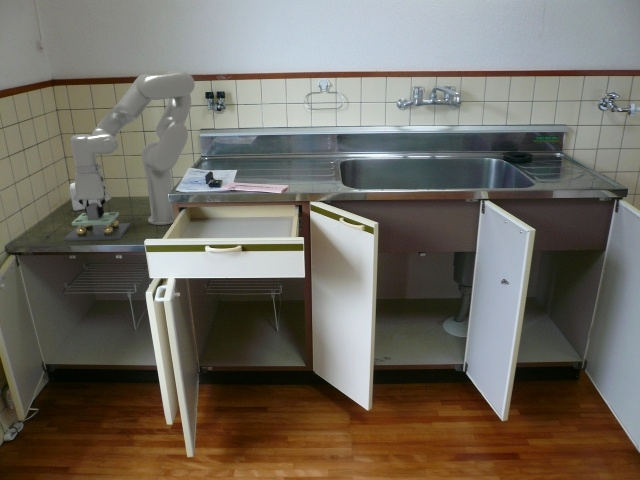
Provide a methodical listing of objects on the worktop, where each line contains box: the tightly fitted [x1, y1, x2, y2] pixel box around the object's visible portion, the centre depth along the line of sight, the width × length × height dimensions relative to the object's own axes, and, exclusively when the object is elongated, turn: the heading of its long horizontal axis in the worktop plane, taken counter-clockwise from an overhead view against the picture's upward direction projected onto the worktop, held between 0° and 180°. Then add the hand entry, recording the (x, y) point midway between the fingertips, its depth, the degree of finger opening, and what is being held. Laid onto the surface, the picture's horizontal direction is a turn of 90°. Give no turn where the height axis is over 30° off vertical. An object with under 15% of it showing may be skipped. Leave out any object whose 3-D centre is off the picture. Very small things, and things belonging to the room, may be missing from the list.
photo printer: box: [69, 181, 97, 212], centre depth 229 cm, size 10×4×12 cm, turn 123°
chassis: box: [64, 219, 131, 242], centre depth 203 cm, size 20×14×5 cm
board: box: [71, 203, 120, 226], centre depth 200 cm, size 14×11×6 cm
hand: (95, 215), depth 201 cm, fingers closed on board, 3 cm apart
